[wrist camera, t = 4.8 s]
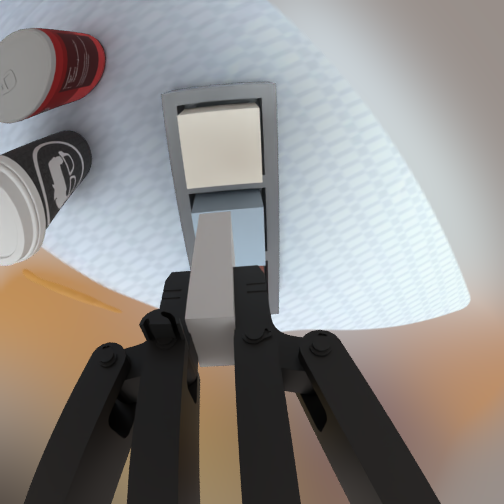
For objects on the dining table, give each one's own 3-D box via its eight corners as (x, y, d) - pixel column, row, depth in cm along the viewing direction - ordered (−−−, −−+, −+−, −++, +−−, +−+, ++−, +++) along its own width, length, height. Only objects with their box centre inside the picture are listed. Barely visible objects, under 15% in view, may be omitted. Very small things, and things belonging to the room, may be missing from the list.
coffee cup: (62, 100, 24) (-32, 139, 12) (119, 153, 28) (50, 221, 16) (25, 163, 27) (-54, 226, 15) (76, 210, 32) (15, 292, 19)
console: (172, 90, 25) (161, 94, 21) (268, 81, 26) (275, 83, 21) (204, 292, 40) (202, 319, 36) (273, 286, 40) (278, 313, 36)
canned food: (35, 75, 21) (-30, 90, 12) (81, 20, 19) (20, 10, 10) (72, 116, 25) (12, 144, 16) (121, 62, 23) (69, 63, 14)
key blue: (195, 194, 28) (191, 213, 24) (259, 188, 28) (263, 207, 25) (204, 246, 31) (201, 270, 28) (261, 242, 31) (265, 265, 28)
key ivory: (184, 108, 23) (177, 115, 20) (254, 102, 23) (259, 107, 20) (192, 172, 26) (187, 189, 23) (258, 166, 27) (262, 182, 23)
